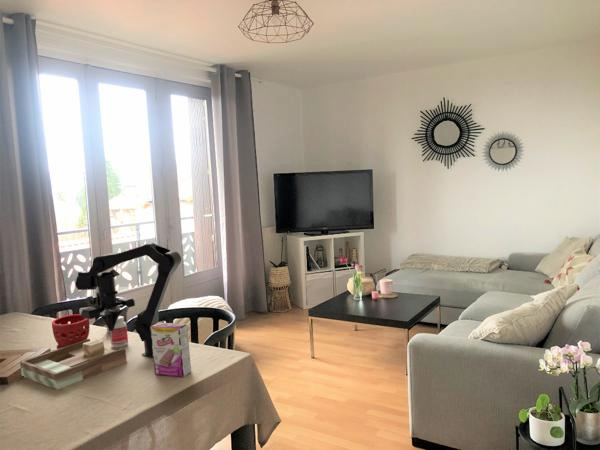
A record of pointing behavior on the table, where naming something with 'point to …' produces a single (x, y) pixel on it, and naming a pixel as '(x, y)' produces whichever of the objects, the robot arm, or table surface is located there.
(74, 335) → the plant pot
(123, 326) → the pill bottle
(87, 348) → the maple block
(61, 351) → the box
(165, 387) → the table surface
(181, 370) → the candy bar box
